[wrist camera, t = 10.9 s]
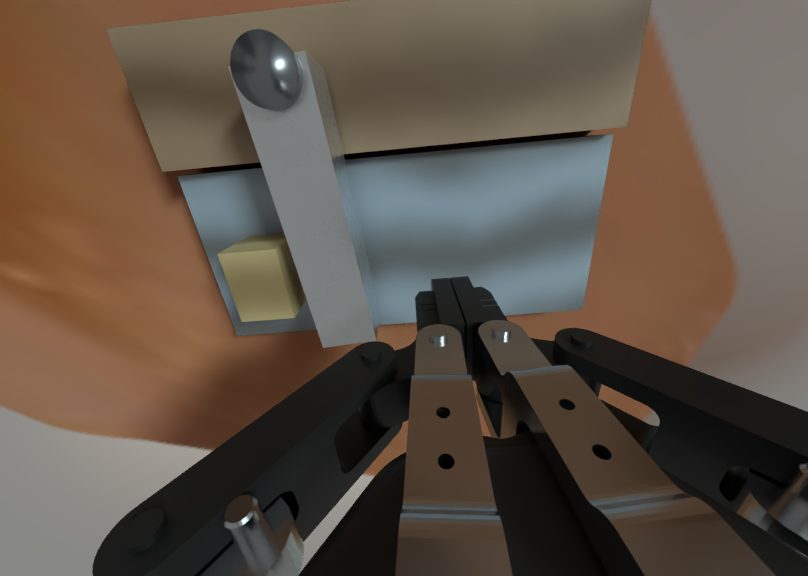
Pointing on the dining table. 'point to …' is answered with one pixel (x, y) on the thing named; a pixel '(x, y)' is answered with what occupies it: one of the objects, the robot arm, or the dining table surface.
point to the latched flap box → (406, 143)
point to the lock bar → (307, 182)
